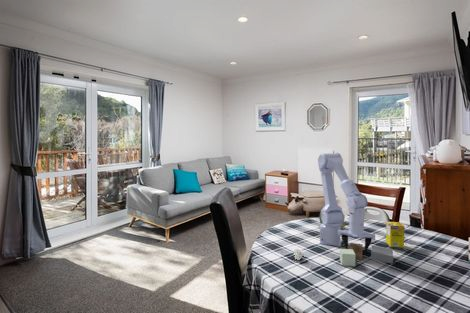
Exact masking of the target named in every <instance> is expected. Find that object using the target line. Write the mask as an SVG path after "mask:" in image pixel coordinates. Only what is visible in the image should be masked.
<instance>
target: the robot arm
mask: <svg viewBox="0 0 470 313" xmlns="http://www.w3.org/2000/svg"><path fill="white" fill-rule="evenodd" d="M317 163H318V164H317V165H318V170H319V171H320V178H321V184H322V192H323V197H324V204H325V205H324V206H323V208H322V209H321V210H320V211H321V212H322V214H321V220H322V222H323V224H321V223H320V227H319V244H322V245H328V246H333V247H334V246H335V247H341V246H342V242H343V245H344V249H349V237H354V238H361V239H364V252H363V255H364V256H367V251H368V249H369V247H370V245H371V244H372V242H373V241H376V234H375V233H370V232H366V231H364V230H365V208H366V207H367V206H368V198H367V196H366V195H365V194H363V193H362V192H360V190H359V188H358V187H357V185H356V183H355V182H354V180H352V179H349V176H348V173H347V172H346V169H345V166H344V165H343V163H344V158H342V155H341V153H339V152H335V153H334V152H333V153H332V152H331V153H330V152H329V153H328V152H327V153H322V152H321V153H320V155H319V156H318V158H317ZM333 172H334V173H335V174H336V175H337V177H338V178H339V180H340V182H341V184H340V187H341V189H342V191H343V193H344V194H345V198H346V199H347V200H346V206H347V207H348V208H347V210H348V212H349V215H348V216H349V218H348V221H349V223H348V226H349V227H348V229H341V225H342V223H343V222H344V223H345V217H346V216H345V214H344V213H343V208H342V207H341V206H339V205H338V203H337V197H336V192H335V184H334V177H333ZM332 210H334V211H332ZM329 211H332V212H329Z"/></svg>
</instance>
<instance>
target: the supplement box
mask: <svg viewBox="0 0 470 313" xmlns="http://www.w3.org/2000/svg"><path fill="white" fill-rule="evenodd" d="M385 223H386V227H385V229H386V230H385V231H386V232H385V245H386V246H388V248H389V249H395V250H397V249H398V250H404V249H405V225H403V224H402V223H401V222H399V221H397V222H396V221H386V222H385Z"/></svg>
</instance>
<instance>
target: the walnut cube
mask: <svg viewBox="0 0 470 313" xmlns="http://www.w3.org/2000/svg"><path fill="white" fill-rule="evenodd" d="M363 246H364V245H363V244H362V243H355V242H350V243H349V249H353V251H354V253H355V260H361V261H362V260H363V255H364V252H363Z"/></svg>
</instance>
